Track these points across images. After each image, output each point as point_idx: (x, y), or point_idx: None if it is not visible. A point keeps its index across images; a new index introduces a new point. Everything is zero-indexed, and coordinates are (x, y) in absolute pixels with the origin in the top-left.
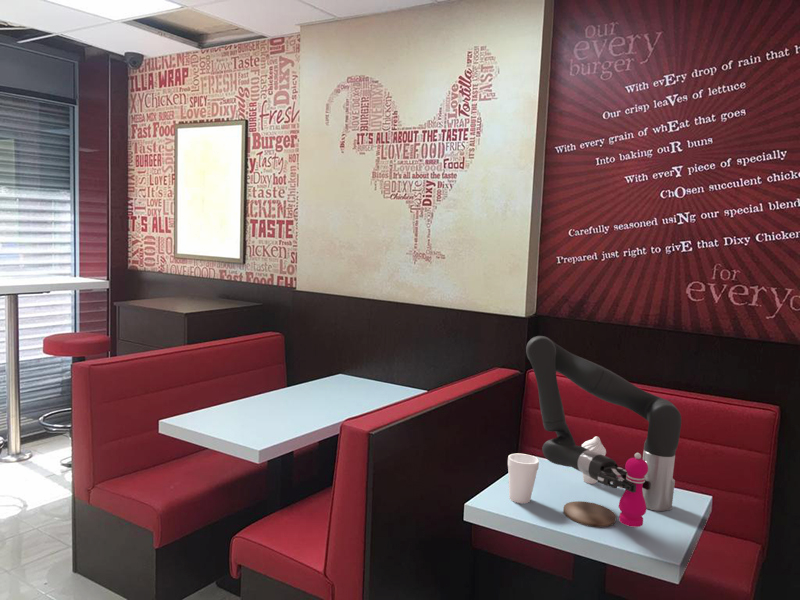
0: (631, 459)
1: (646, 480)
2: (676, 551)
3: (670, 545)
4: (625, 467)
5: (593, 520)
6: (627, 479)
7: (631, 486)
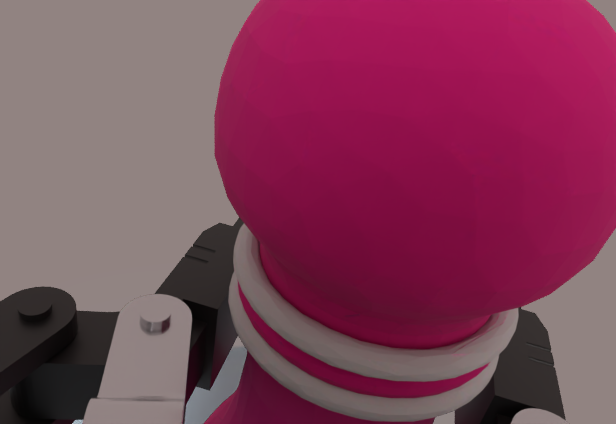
0: (592, 12)
1: (229, 235)
2: (241, 365)
3: (194, 402)
4: (600, 248)
5: None
6: (494, 361)
7: (530, 316)
